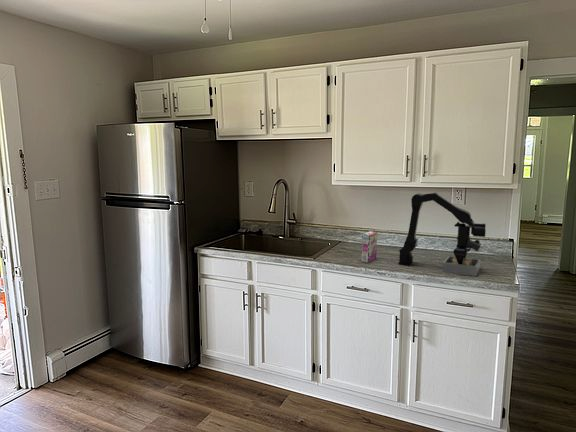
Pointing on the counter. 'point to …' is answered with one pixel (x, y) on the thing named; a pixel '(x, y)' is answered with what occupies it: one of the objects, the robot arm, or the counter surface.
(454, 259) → the birch crate
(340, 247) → the counter surface
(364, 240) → the candy bar box
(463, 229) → the robot arm
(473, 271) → the charcoal crate
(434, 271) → the counter surface
